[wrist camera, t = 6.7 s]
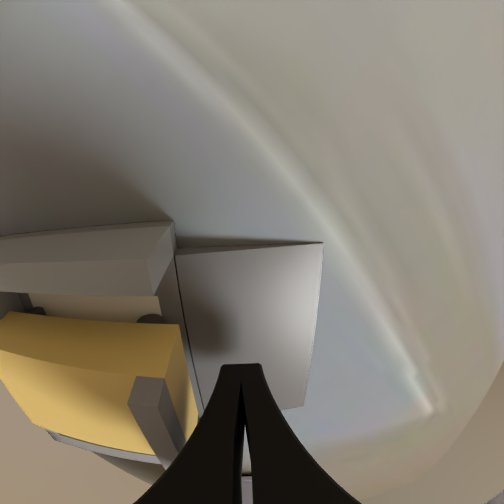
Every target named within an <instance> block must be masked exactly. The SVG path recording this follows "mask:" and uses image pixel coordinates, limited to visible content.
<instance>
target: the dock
mask: <svg viewBox="0 0 504 504" xmlns="http://www.w3.org/2000/svg"><path fill="white" fill-rule="evenodd" d="M323 246H324V243H301V244H272V245H245V246H219V247H194V248H179V249H177V245H176V237H175V228H174V221H157V222H143V223H129V224H116V225H103V226H92V227H80V228H70V229H60V230H50V231H41V232H32V233H23V234H15V235H7V236H0V320H1V319H2V318H3V317H4V316H5V315H6V314H7V313H8V312H9V311H14V312H21V313H26V312H27V311H29V310H30V309H32V308H34V307H43V309H44V311H45V314H46V316H53V317H63V318H73V319H84V320H96V321H111V322H128V323H136V322H137V320H138V319H139V318H140V317H142V316H144V315H147V314H158V315H160V316H162V318H163V320H164V324H179V328H180V333H181V338H182V343H183V348H184V353H185V358H186V363H187V368H188V372H189V377H190V381H191V385H192V390H193V394H194V398H195V402H196V406H197V410H198V420H197V424H198V422H199V420H200V418H201V416H202V414H203V412H204V410H205V408H206V406H207V404H208V402H209V400H210V397H211V395H212V393H213V390H214V387H215V385H216V382H217V379H218V376H219V372H220V368H221V366H222V365H223V364H247V363H259V364H261V365H262V369H263V373H264V376H265V379H266V381H267V384H268V387H269V389H270V391H271V393H272V396H273V398H274V400H275V402H276V404H277V405H278V407H279V409H280V410H285V409H290V408H295V407H300V406H304V400H305V394H306V389H307V383H308V376H309V370H310V363H311V357H312V350H313V342H314V335H315V327H316V319H317V310H318V301H319V292H320V281H321V271H322V259H323ZM46 431H47V432H48V433H49V434H50V435H51V436H52V437H53V439H54V440H56V441H59V442H63V443H65V444H69V445H72V446H75V447H79V448H82V449H86V450H89V451H93V452H97V453H101V454H106V455H110V456H115V457H119V458H125V459H130V460H136V461H142V462H148V463H155V464H161V463H160V461H159V460H158V458H157V456H156V455H151V454H145V453H138V452H132V451H127V450H122V449H117V448H112V447H107V446H103V445H99V444H95V443H91V442H87V441H83V440H80V439H76V438H73V437H70V436H66V435H63V434H60V433H57V432H54V431H51V430H48V429H46Z"/></svg>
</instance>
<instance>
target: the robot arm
mask: <svg viewBox="0 0 504 504" xmlns="http://www.w3.org/2000/svg"><path fill="white" fill-rule="evenodd" d="M245 427H246V433H247V440H248V447H249V453H250V459H251V472H252V476H242V459H243V445H244V430H245ZM133 504H361V503H360V502H359V501H357V500H356V499H355V498H354V497H352V496H351V495H350V494H349V493H347V492H346V491H345V490H344V489H343V488H342V487H341V486H339V485H338V484H337V483H336V482H335V481H334V480H333V479H332V478H331V477H330V476H329V475H328V474H327V473H326V472H325V471H324V470H323V469H322V468H321V467H320V466H319V464H318V463H317V462H316V461H315V460H314V459H313V457H312V456H311V455H310V454H309V453H308V451H307V450H306V449H305V448H304V446H303V445H302V444H301V442H300V441H299V440H298V438H297V437H296V435H295V434H294V432H293V431H292V429H291V428H290V426H289V425H288V423H287V421H286V420H285V418H284V416H283V415H282V413H281V411H280V409H279V407H278V405H277V404H276V402H275V400H274V398H273V396H272V393H271V391H270V389H269V387H268V384H267V381H266V379H265V376H264V373H263V369H262V365H261V364H259V363H247V364H223V365H222V366H221V368H220V372H219V376H218V379H217V382H216V385H215V387H214V390H213V393H212V395H211V397H210V400H209V402H208V404H207V406H206V408H205V410H204V412H203V414H202V416H201V418H200V420H199V422H198V424H197V426H196V427H195V429H194V431H193V433H192V434H191V436H190V438H189V439H188V441H187V442H186V444H185V445H184V447H183V448H182V450H181V451H180V453H179V454H178V455H177V457H176V458H175V459H174V461H173V462H172V463H171V465H170V466H169V467H168V468H167V470H166V471H165V472H164V473H163V474H162V476H161V477H160V478H159V479H158V480H157V481H156V482H155V483H154V484H153V485H152V486H151V487H150V488H149V489H148V490H147V492H145V493H144V494H143V495H142V496H141V497H140V498H139V499H138V500H137V501H136V502H135V503H133ZM484 504H504V490H503V491H502V492H500V493H499V494H498V495H496V496H495V497H494V498H492V499H491V500H489V501H488V502H486V503H484Z"/></svg>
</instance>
